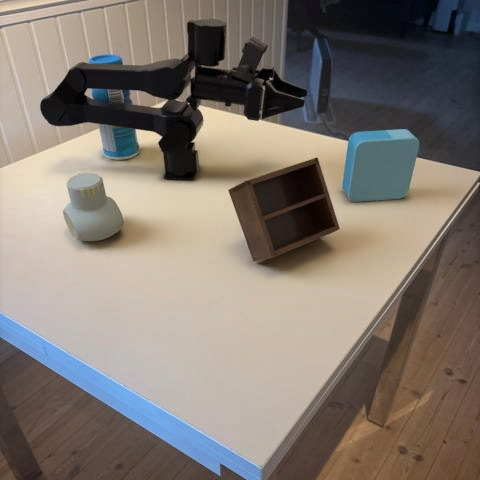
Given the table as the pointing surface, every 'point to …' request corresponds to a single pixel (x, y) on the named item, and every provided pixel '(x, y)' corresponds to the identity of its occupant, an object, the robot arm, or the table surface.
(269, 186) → the shelf
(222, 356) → the table surface
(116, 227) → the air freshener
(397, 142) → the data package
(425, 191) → the table surface
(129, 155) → the beverage bottle
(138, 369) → the table surface
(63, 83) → the robot arm
